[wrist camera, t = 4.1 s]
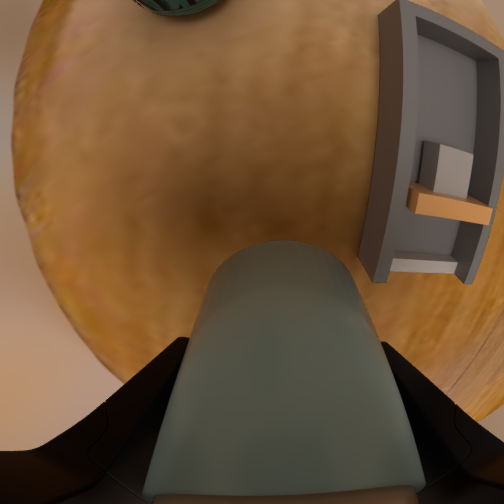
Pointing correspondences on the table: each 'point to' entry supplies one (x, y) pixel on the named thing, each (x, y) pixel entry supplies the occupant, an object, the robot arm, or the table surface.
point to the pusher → (446, 186)
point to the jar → (284, 393)
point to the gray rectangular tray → (432, 140)
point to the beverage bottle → (176, 6)
